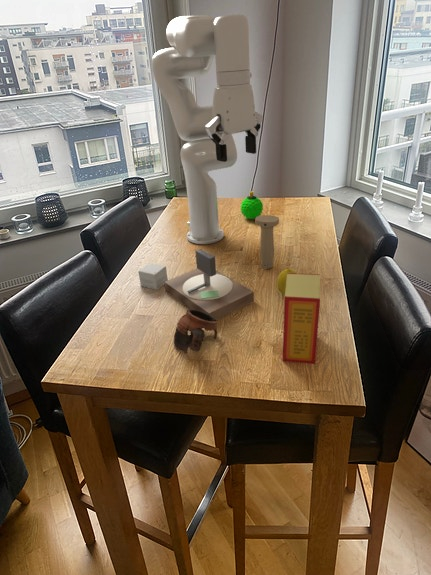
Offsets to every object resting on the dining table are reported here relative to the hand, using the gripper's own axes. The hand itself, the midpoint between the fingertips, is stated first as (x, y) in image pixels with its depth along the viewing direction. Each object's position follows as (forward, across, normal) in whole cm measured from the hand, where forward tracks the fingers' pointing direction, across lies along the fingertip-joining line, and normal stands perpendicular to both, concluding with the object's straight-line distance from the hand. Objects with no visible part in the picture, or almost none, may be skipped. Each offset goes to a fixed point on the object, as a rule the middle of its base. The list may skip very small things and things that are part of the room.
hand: (236, 156), depth 104 cm
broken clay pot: (+34, +29, +16) cm, 47 cm away
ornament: (+32, -31, -28) cm, 52 cm away
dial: (+30, +14, +3) cm, 33 cm away
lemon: (+33, 0, +17) cm, 37 cm away
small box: (+33, +21, -14) cm, 41 cm away
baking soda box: (+34, +14, +32) cm, 49 cm away
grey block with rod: (+29, +17, +2) cm, 34 cm away
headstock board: (+33, +14, +2) cm, 36 cm away
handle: (+33, -8, +2) cm, 34 cm away
